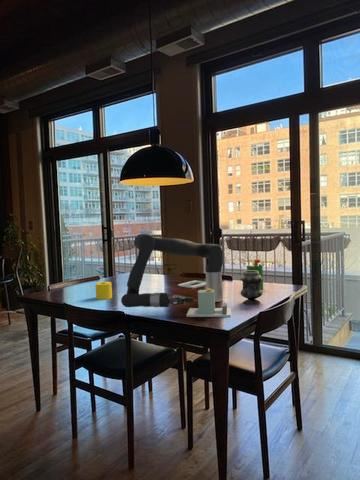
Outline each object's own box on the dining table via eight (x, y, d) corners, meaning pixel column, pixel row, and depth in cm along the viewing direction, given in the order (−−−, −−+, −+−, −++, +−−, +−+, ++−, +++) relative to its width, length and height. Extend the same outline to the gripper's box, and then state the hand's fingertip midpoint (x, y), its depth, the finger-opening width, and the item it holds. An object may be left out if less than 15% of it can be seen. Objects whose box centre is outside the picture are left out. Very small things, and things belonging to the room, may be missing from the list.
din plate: (186, 316, 189) (186, 306, 188) (189, 310, 201) (189, 300, 201) (230, 316, 185) (230, 306, 185) (231, 310, 198) (230, 300, 197)
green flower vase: (256, 286, 253) (255, 257, 252) (266, 288, 246) (265, 258, 244) (245, 289, 248) (244, 259, 246) (255, 291, 240) (254, 260, 239)
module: (198, 313, 189) (197, 290, 188) (199, 310, 195) (198, 288, 194) (214, 313, 188) (213, 290, 187) (215, 310, 194) (214, 287, 193)
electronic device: (193, 286, 256) (177, 283, 267) (193, 289, 256) (177, 287, 267) (210, 281, 269) (195, 279, 280) (210, 285, 269) (195, 282, 280)
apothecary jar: (266, 302, 211) (266, 270, 209) (254, 306, 203) (253, 273, 201) (249, 299, 220) (248, 268, 218) (236, 303, 211) (235, 271, 210)
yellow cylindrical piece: (111, 295, 245) (110, 281, 245) (113, 298, 236) (112, 283, 235) (95, 297, 242) (94, 282, 242) (96, 300, 233) (96, 285, 232)
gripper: (156, 295, 188) (191, 295, 185) (162, 290, 201) (194, 289, 198) (157, 310, 189) (191, 310, 186) (162, 303, 202) (194, 303, 199)
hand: (193, 299), depth 192 cm, fingers closed
